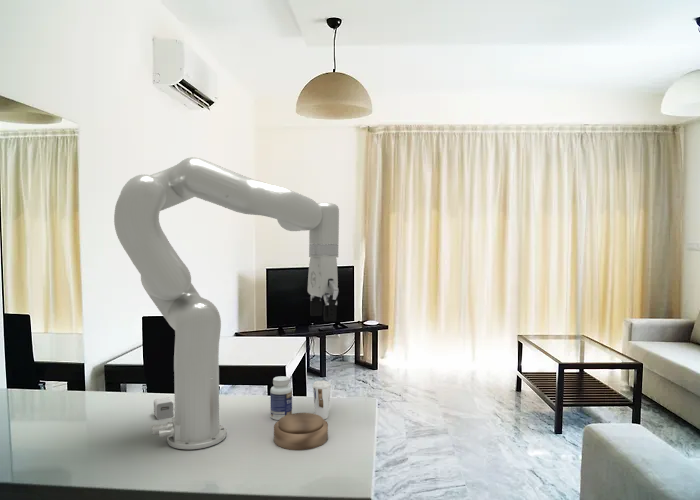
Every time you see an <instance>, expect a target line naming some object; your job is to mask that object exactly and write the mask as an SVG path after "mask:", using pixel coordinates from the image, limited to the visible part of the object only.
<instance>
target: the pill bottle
mask: <svg viewBox="0 0 700 500" xmlns="http://www.w3.org/2000/svg"><path fill="white" fill-rule="evenodd" d="M272 384H273V386H271V388H270V391H269V392H270V398H269V399H270V418H271V419H272V420H275V421H276V420H277V421H279V419H281V418H282V417H284V416H286V415H290V414H293V388H292V386H290V377H288V376H281V375H280V376H275V377H273V379H272Z"/></svg>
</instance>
